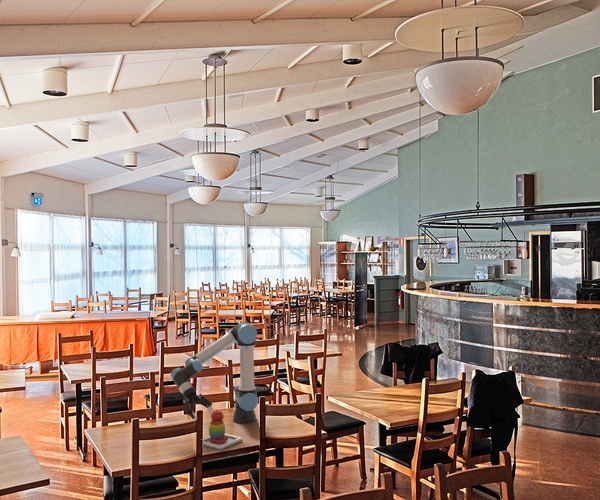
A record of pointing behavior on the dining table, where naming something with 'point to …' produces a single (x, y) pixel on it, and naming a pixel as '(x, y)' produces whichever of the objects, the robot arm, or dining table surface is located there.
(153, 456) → the dining table surface
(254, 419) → the robot arm
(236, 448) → the dining table surface
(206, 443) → the white square tray
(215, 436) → the stacking bear
